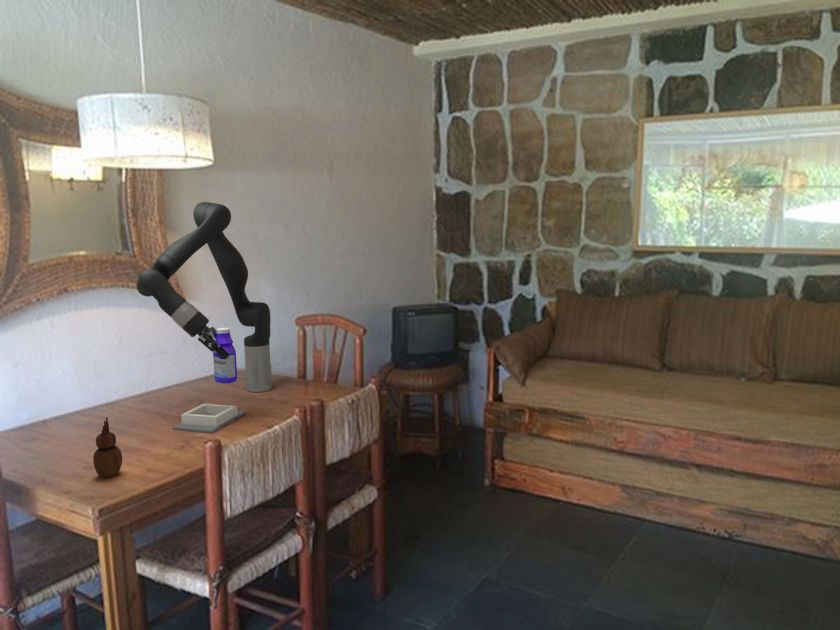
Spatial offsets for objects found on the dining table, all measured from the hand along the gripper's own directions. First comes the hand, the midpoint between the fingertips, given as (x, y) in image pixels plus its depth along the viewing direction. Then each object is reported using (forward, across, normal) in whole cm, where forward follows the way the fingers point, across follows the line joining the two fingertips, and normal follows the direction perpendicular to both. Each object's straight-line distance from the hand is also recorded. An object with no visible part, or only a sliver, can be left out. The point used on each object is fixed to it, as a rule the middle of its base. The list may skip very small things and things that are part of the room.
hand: (229, 354), depth 215 cm
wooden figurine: (-1, -42, +33) cm, 53 cm away
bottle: (+5, 0, +8) cm, 9 cm away
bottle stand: (+10, 0, +20) cm, 23 cm away
